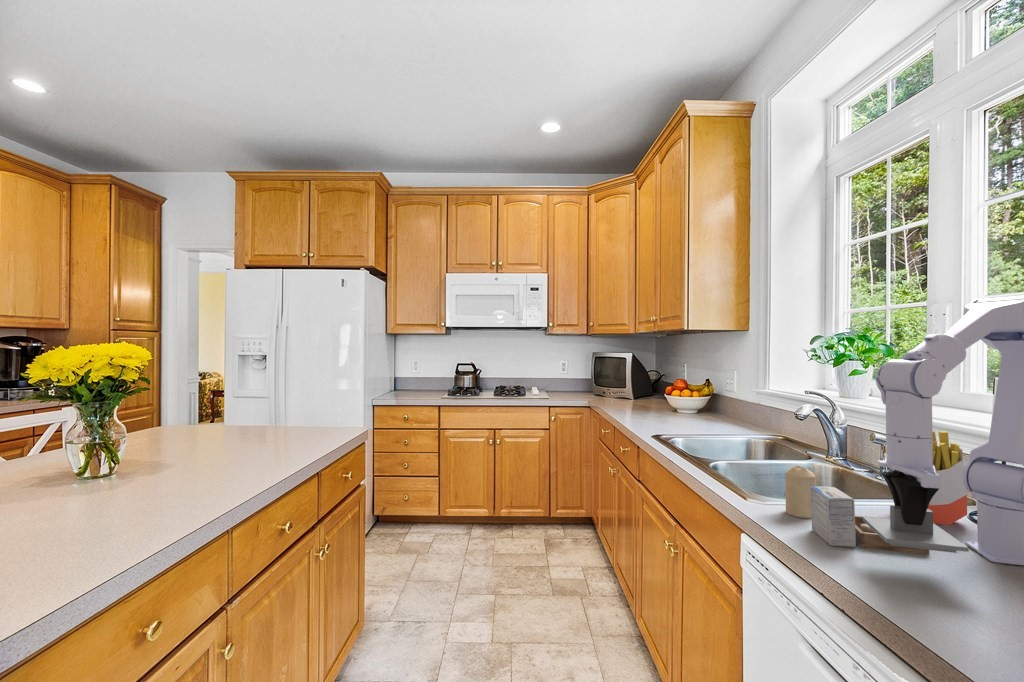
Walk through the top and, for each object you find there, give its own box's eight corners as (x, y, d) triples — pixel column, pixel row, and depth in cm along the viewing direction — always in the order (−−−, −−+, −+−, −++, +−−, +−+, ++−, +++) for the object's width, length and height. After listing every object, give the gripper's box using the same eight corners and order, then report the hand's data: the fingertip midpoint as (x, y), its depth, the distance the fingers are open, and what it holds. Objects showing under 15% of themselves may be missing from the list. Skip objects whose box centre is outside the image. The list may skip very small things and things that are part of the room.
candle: (822, 518, 101) (821, 470, 101) (796, 519, 101) (796, 470, 101) (804, 509, 107) (803, 463, 107) (780, 510, 106) (779, 464, 106)
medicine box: (856, 548, 86) (855, 499, 86) (828, 546, 87) (827, 497, 87) (836, 531, 94) (835, 486, 94) (810, 530, 95) (810, 485, 95)
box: (903, 533, 93) (903, 519, 93) (929, 554, 83) (929, 539, 83) (842, 527, 96) (842, 514, 96) (860, 547, 87) (860, 533, 87)
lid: (934, 531, 80) (934, 502, 80) (968, 556, 70) (968, 523, 70) (862, 524, 83) (862, 496, 83) (886, 547, 74) (886, 515, 74)
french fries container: (968, 528, 95) (966, 435, 95) (898, 519, 100) (897, 431, 100) (959, 520, 99) (958, 432, 100) (893, 512, 104) (892, 428, 104)
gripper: (862, 426, 85) (863, 504, 85) (898, 442, 71) (899, 535, 71) (911, 428, 83) (912, 509, 83) (957, 445, 69) (959, 541, 69)
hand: (909, 521), depth 77 cm, fingers closed on lid
